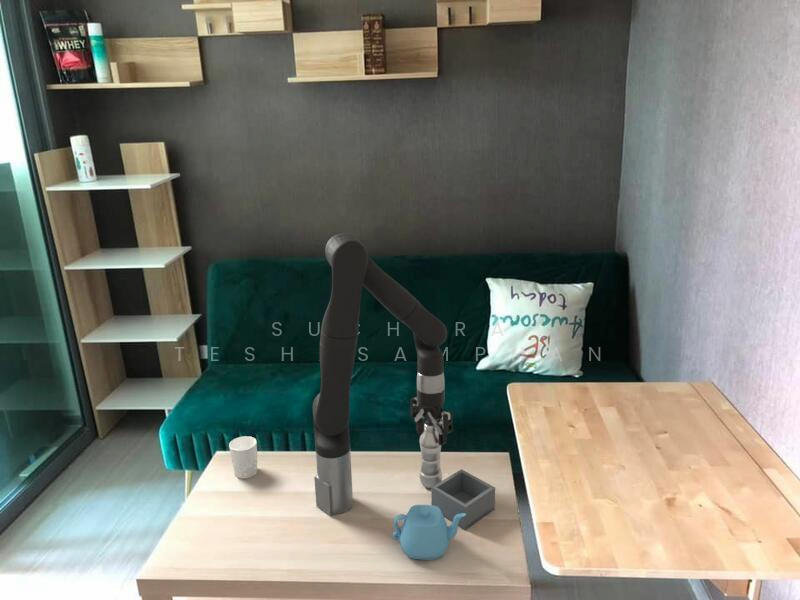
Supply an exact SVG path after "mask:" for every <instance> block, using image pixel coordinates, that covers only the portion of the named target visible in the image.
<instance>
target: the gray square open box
mask: <svg viewBox="0 0 800 600" xmlns="http://www.w3.org/2000/svg"><path fill="white" fill-rule="evenodd" d="M431 505H433V506H437V507H438V508H439V509H440V510H441V512H442V514H443V516H444V518H445V520H448V521H449V522H451V524H452V523H453V519H454V517H455V516H456V515H457V514H460V513H466V515H465V516H464V517H462V518H461V519H460V520H459V523H458V528H461V529H462V530H463V531H466V530H467V529H470V527H472V526H473V525H475V524H476V523H477V522H479V521H481V520H482V519H483V518H485V517H486V516H488V515H489V514H491V513H492V512H494V511H495V507H496V487H495V486H493V485H491V484H490V483H488V482H485V481H484V480H482V479H481V478H479V477H477V476H475V475H473V474H471V473H469V472H467V471H466V470H464V469H463V468H462V469H459V470H458V471H456V472H454V473H453V474H451V475H450V476H448V477H446V478H444V479H442V481H441V482H439V483H438V484H436V485H434V486H433V487H432V488H431Z"/></svg>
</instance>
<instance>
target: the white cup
mask: <svg viewBox="0 0 800 600" xmlns="http://www.w3.org/2000/svg"><path fill="white" fill-rule="evenodd" d="M228 448H229V453H230V454H229V455H230V459H231V465H232V467H233V473H234V477H236V478H238V479H243V480H244V479H250V478H252V477H254V476H256V474H257V473H258V443H257V439H256V438H255V437H252V436H250V435H249V436H246V435H245V436H239V437H236V438H233V439H232V440H231V441H230V442H229V444H228Z"/></svg>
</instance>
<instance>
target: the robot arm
mask: <svg viewBox="0 0 800 600" xmlns="http://www.w3.org/2000/svg"><path fill="white" fill-rule="evenodd" d="M324 250H325V251H324V252H325V258H326V261H327V262H328V264H329V265H330V267H331V279H332V280H331V291H330V298H329V303H328V304H327V307H326V310H325V313H324V316H323V317H322V318H323V319H322V322H321V327H320V339H319V367H320V392H319V393H318V394H317V395H316V396H315V398H314V399H313V402H312V420H313V422H312V423H313V433H314V434H313V437H314V446H315V459H316V473H317V474H315V476H314V490H315V493H314V494H315V505H316V507H317V508H319V509H320V510H321V511H323V513H325V514H326V515H328V516H332V515H337V514H342V513H346V512H347V511H348V510H350V509H351V508H352V507H353V504H354V495H353V477H352V475H353V473H352V456H351V454H352V453H351V437H350V429H349V428H350V427H349V423H350V422H349V421H350V419H351V418H350V417H351V414H350V392H351V391H350V390H351V389H350V388H351V381H352V376H353V371H354V366H355V365H354V364H355V359H356V353H357V352H356V351H357V345H358V337H359V325H360V312H361V299H362V292H363V287H364V288H365V289H366V290H367V291H368V292H369V293H370V294H371V295H372V296H373V297H374V298H375V300H377V301H378V302H379V303H380V305H381V306H382V307H384V308H385V310H387V311H388V312H389V313H390V314H391V315H393V317H395V318H396V319H397V320H398V321H399V322H401V323H402V324H404V325H405V326H406V327H407V328H409V330H411V332H413V339H414V345H415V351H416V355H417V358H416V359H417V361H416V362H417V375H416V396H415V397H413V398H411V399H410V403H409V404H410V405H409V406H410V407H409V409H410V411H409V413H410V414H409V417H410V418H411V419H412V418H413V419H414V422H415V430H416V434H418V435H421V434H422V433H423V432H424V431H425V430H424V423H425V421H424V420H426V421H427V420H429V421H431V422H433V424H434V426H435V427H436V428H437V431H438V432H439V445H441V447H442V446H443V445H446V443H447V442H448V441H447V439H448V438H447V437H448V435H449V434H450V433H452V432H454V425H453V424H454V422H453V413H452V411H448V412H447V411H445V410H444V407H443V406H444V404H445V403H444V402H445V391H446V389H445V373H444V370H445V369H444V365H445V364H444V360H445V359H444V353H443V352H442V350H441V349H440V346H441V345H443V344H444V343H445V342H446V340H447V337H448V329H447V327H446V325H445V323H443V322H442V321H441V320H440V319H439V318H437V317H436V316H435V315H434V314H433V313H432V312H430V311H429V310H428V309H426V308H425V307H424V306H423V305H422V303H421V302H420V301H419V300H418V299H417V298H416V297H415V296H413V295H412V293H410V292H409V291H408V290H407V289H406V288H404V287H403V286H402V285H401V284H400V283H399V282H397V281H396V280H395V279H394V278H392V277H391V276H390V275H389V274H387V273H386V272H385V271H384V270H383V269H382V268H381V267H380V266H378V264H376V262H374V260H373V259H372V258H371V257H370V256H369V253H368V250H367V248H366V247H365V245H364V244H363V242H362V241H361V240H359V239H358V238H357V237H355V236H354V235H352V234H349V233H344V232H343V233H342V232H341V233H337V234H334V235H333V236H332V237H330V238H329V239H328V241H327V243H326V244H325V248H324ZM439 420H440V421H439ZM438 421H439V422H438Z"/></svg>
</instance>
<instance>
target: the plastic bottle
mask: <svg viewBox="0 0 800 600" xmlns="http://www.w3.org/2000/svg"><path fill="white" fill-rule="evenodd" d="M419 447H420V455H421V456H420V457H421V465H420V472H419V480H420V483H421V485H422V486H423V487H425V488H427V489H432V487H433V486H434V485H436V484H438V483H439V482H441V481H443V473H442V469H441V450H442V446H441V445H439V431H438V429H437V428H436V427H435V426H434V424H433V422H431V421H429V420H427V419H426V420H425V421H424V432H423V433H421V434H420V436H419Z"/></svg>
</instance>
